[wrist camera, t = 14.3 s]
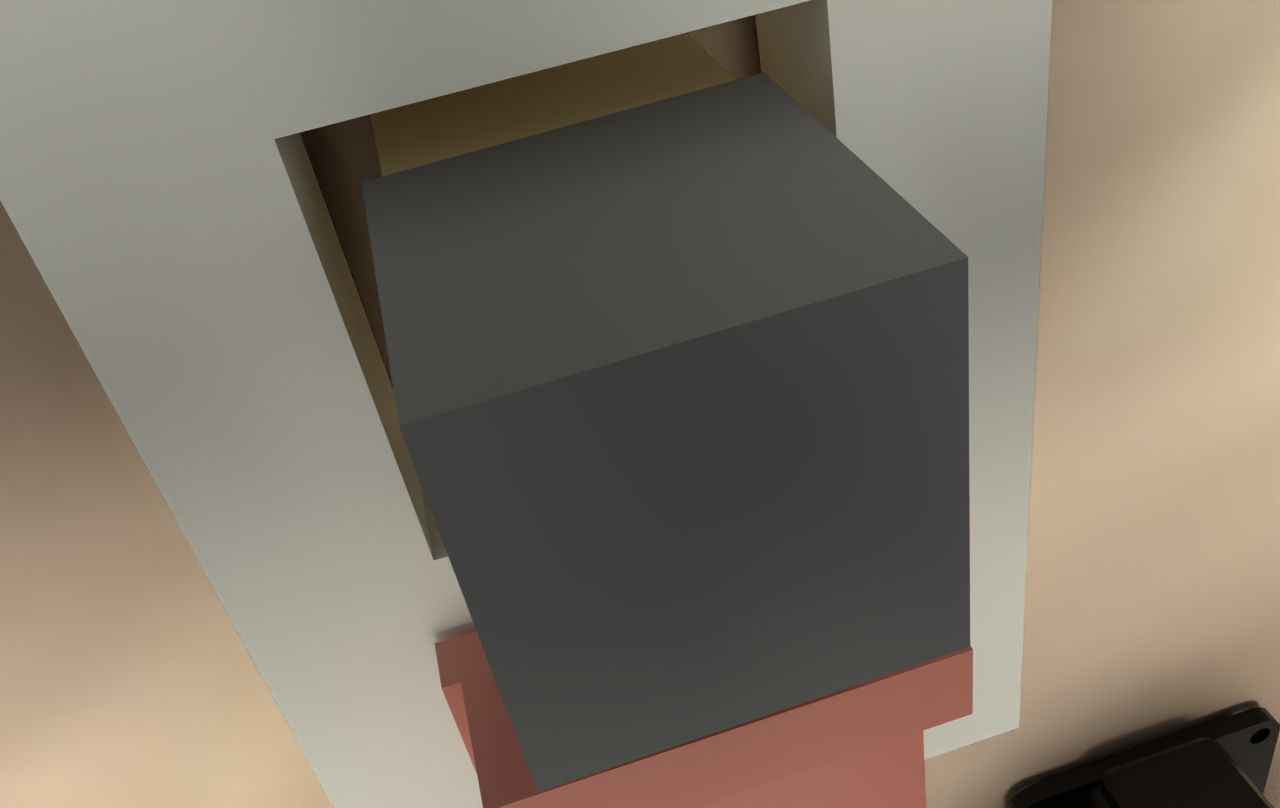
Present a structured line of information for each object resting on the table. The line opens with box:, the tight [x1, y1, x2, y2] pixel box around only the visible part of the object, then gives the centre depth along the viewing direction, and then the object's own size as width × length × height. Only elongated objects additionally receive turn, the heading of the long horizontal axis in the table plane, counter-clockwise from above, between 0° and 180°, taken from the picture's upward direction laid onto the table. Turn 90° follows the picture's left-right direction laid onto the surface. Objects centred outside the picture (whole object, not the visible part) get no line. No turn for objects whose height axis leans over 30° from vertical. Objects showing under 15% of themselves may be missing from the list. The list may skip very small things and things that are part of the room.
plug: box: [361, 33, 970, 792], centre depth 13 cm, size 4×4×7 cm
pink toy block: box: [434, 631, 973, 808], centre depth 16 cm, size 6×6×3 cm
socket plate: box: [0, 0, 1053, 808], centre depth 15 cm, size 18×11×2 cm, turn 9°
